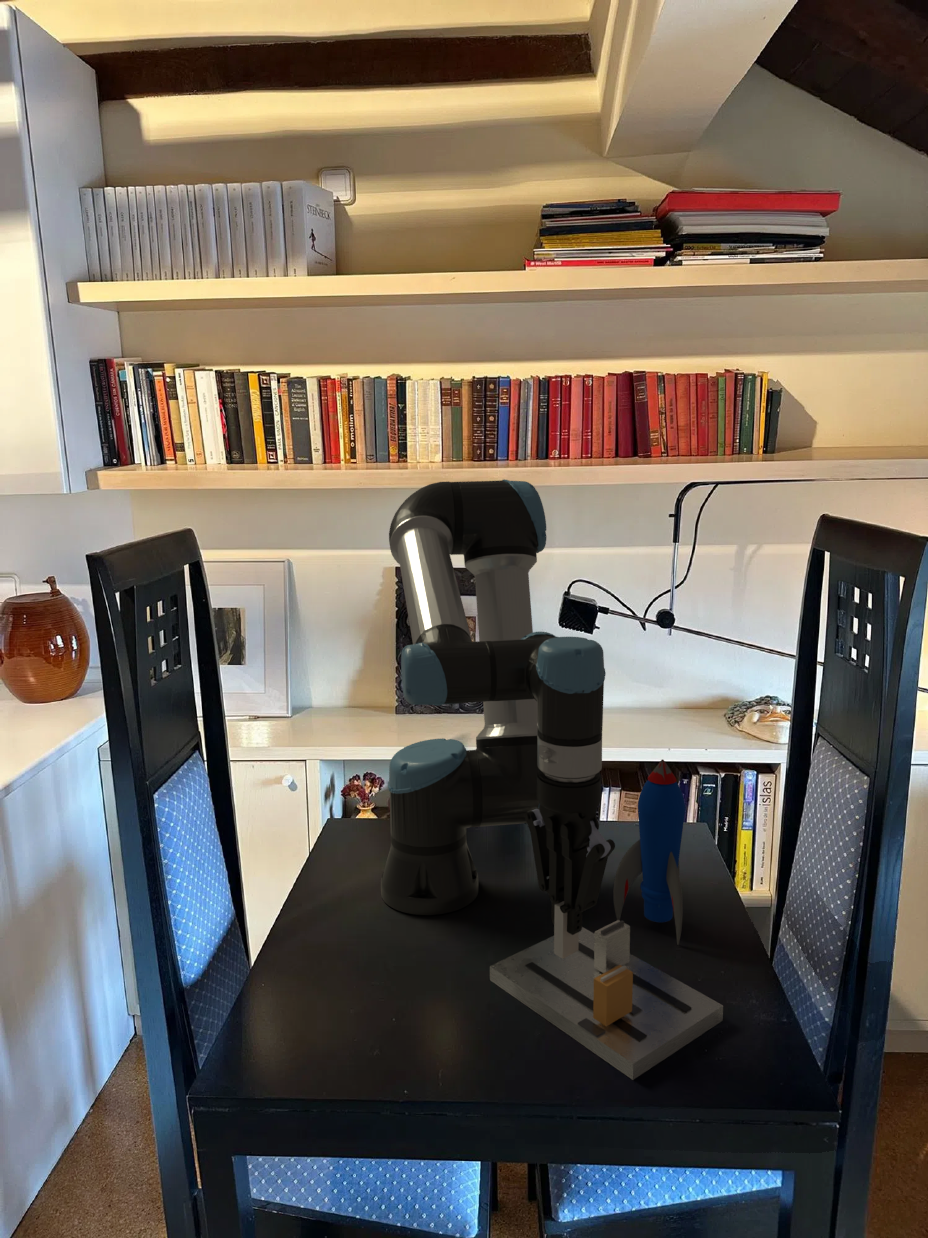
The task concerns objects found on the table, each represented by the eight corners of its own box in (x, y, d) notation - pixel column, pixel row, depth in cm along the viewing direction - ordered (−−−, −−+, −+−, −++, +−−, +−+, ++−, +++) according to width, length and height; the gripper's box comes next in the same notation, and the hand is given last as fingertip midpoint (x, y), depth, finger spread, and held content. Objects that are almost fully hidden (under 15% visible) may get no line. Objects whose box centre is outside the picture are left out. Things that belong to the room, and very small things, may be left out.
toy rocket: (682, 949, 121) (688, 774, 116) (611, 942, 123) (614, 770, 118) (679, 909, 131) (685, 748, 127) (614, 903, 133) (617, 744, 129)
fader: (593, 1018, 102) (593, 975, 101) (619, 1003, 105) (619, 961, 104) (606, 1026, 101) (606, 983, 100) (632, 1011, 103) (633, 969, 102)
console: (489, 980, 114) (489, 926, 113) (577, 937, 124) (577, 887, 123) (632, 1080, 96) (634, 1017, 94) (722, 1020, 106) (725, 962, 104)
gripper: (508, 762, 106) (507, 939, 111) (587, 796, 96) (583, 989, 101) (553, 748, 111) (551, 919, 116) (633, 779, 101) (627, 965, 106)
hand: (566, 952), depth 109 cm, fingers closed
